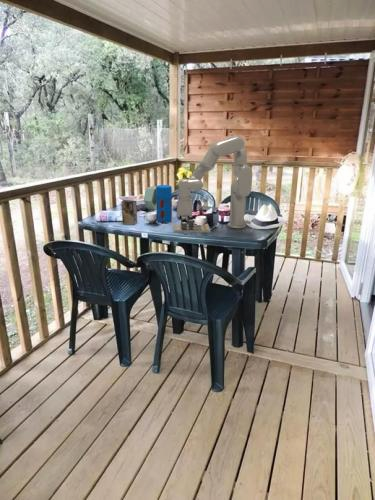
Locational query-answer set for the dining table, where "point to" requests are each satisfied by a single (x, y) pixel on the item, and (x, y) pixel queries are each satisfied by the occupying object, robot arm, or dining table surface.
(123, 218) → the coffee box
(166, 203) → the blue tall box
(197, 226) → the panel
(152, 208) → the planter
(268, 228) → the dining table surface
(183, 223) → the breaker
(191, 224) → the breaker mid
